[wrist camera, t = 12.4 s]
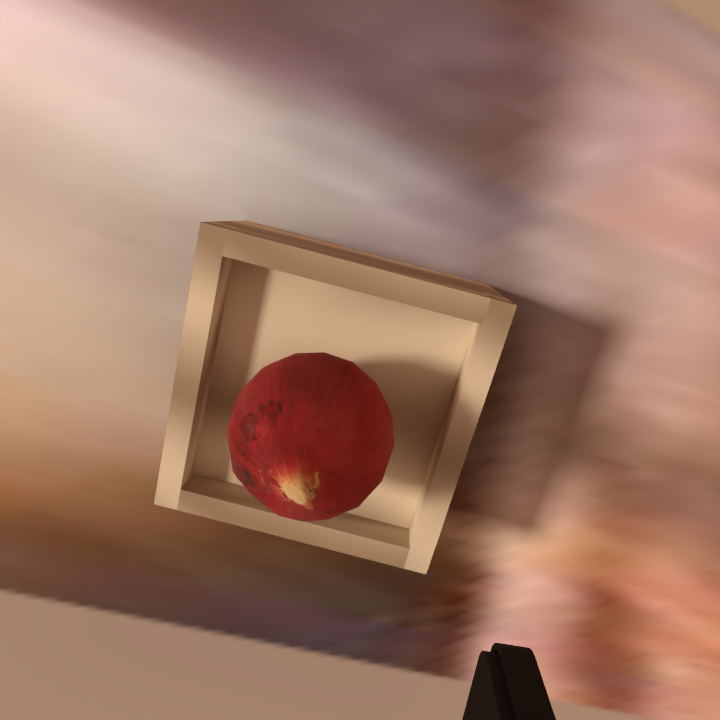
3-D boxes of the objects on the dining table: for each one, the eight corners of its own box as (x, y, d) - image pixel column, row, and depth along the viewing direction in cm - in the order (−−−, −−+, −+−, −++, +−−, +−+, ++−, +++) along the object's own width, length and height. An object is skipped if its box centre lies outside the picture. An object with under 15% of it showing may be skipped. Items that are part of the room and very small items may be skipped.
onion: (265, 463, 24) (205, 588, 16) (246, 337, 22) (170, 406, 14) (397, 456, 23) (401, 580, 15) (387, 327, 22) (387, 393, 14)
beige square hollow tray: (247, 220, 26) (200, 222, 19) (487, 283, 26) (517, 305, 20) (205, 441, 29) (154, 503, 23) (419, 496, 29) (426, 574, 23)
